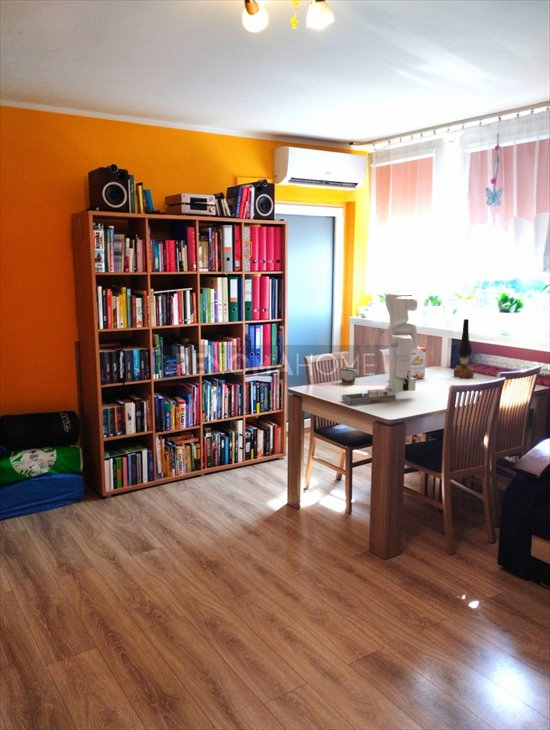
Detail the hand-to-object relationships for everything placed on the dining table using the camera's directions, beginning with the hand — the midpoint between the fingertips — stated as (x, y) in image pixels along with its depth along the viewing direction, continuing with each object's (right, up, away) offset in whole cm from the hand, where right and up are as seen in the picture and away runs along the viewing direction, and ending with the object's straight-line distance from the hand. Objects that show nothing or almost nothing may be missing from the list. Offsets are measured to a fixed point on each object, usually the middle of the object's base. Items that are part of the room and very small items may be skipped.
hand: (403, 389), depth 341 cm
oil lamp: (+55, +6, +64) cm, 84 cm away
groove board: (-15, -6, -4) cm, 16 cm away
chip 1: (-19, -5, -5) cm, 20 cm away
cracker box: (+20, +5, +58) cm, 62 cm away
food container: (-25, +2, +45) cm, 52 cm away
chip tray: (-28, -7, -8) cm, 30 cm away
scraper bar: (0, -1, 0) cm, 1 cm away
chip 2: (-15, -4, -4) cm, 16 cm away
